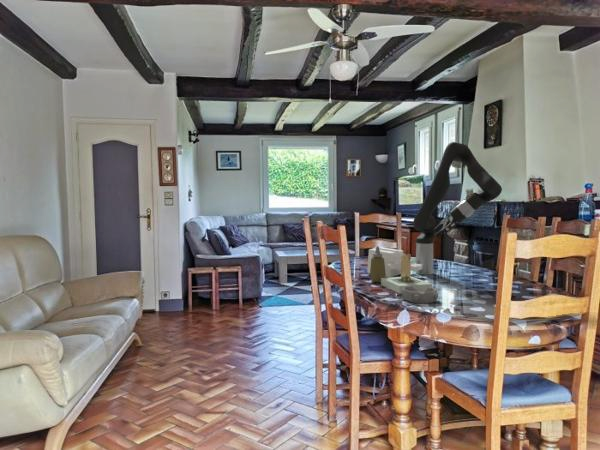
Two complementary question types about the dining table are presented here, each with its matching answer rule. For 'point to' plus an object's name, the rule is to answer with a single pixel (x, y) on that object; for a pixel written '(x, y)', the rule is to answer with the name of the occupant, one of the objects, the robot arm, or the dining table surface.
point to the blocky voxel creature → (391, 261)
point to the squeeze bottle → (377, 266)
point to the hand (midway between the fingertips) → (435, 233)
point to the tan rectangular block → (405, 267)
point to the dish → (420, 295)
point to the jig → (404, 284)
